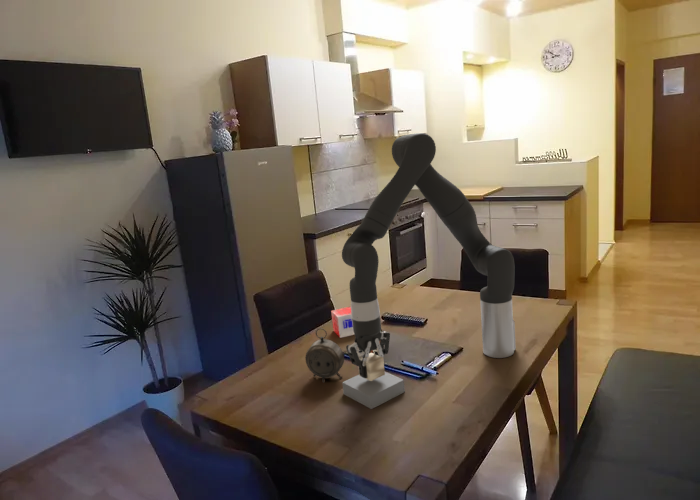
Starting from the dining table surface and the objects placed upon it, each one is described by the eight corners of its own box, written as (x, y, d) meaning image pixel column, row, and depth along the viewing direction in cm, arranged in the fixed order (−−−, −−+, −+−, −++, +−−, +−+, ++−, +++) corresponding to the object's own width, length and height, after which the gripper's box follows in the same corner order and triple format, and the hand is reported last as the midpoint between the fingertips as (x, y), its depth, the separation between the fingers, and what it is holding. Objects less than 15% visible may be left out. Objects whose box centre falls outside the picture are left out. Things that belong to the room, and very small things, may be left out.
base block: (376, 379, 152) (375, 367, 152) (404, 393, 143) (403, 379, 142) (343, 395, 145) (342, 382, 145) (371, 410, 136) (370, 396, 135)
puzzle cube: (353, 326, 195) (351, 306, 194) (360, 333, 188) (358, 312, 186) (333, 331, 193) (330, 310, 191) (339, 338, 186) (337, 317, 184)
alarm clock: (346, 376, 156) (340, 325, 152) (340, 384, 151) (334, 332, 147) (313, 374, 159) (306, 324, 156) (306, 382, 154) (299, 331, 151)
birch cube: (373, 369, 146) (371, 352, 145) (384, 374, 143) (383, 357, 141) (359, 375, 144) (357, 358, 142) (370, 381, 140) (369, 363, 139)
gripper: (353, 326, 132) (360, 387, 136) (395, 310, 140) (400, 368, 144) (335, 319, 138) (343, 379, 142) (376, 304, 146) (382, 361, 150)
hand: (372, 373), depth 143 cm, fingers closed on birch cube, 4 cm apart
